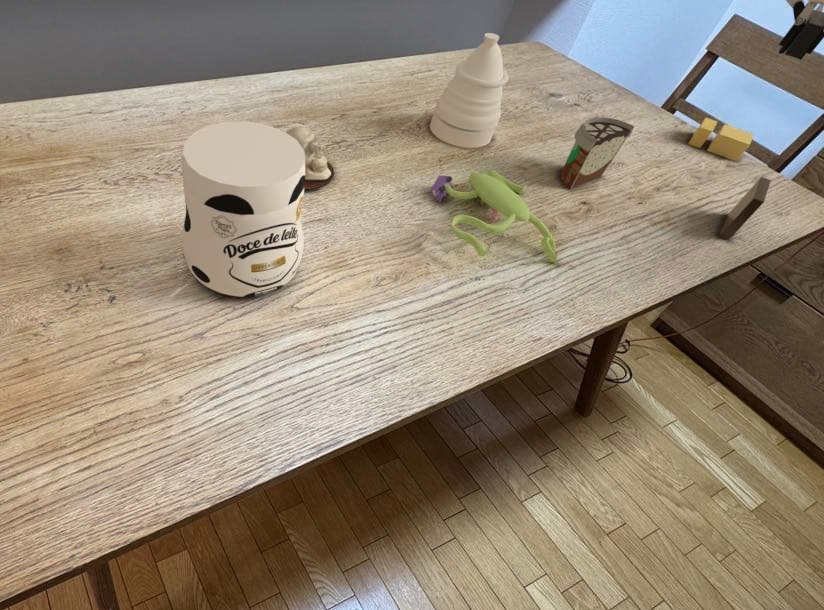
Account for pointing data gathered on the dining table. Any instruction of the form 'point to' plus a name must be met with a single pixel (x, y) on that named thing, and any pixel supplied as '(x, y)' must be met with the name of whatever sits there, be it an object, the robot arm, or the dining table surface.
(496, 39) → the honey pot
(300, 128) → the cream carved statuette
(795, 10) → the robot arm
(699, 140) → the block
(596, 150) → the food container
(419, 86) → the dining table surface
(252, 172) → the milk container
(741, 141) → the butter block
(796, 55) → the knife
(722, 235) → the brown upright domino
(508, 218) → the figurine
